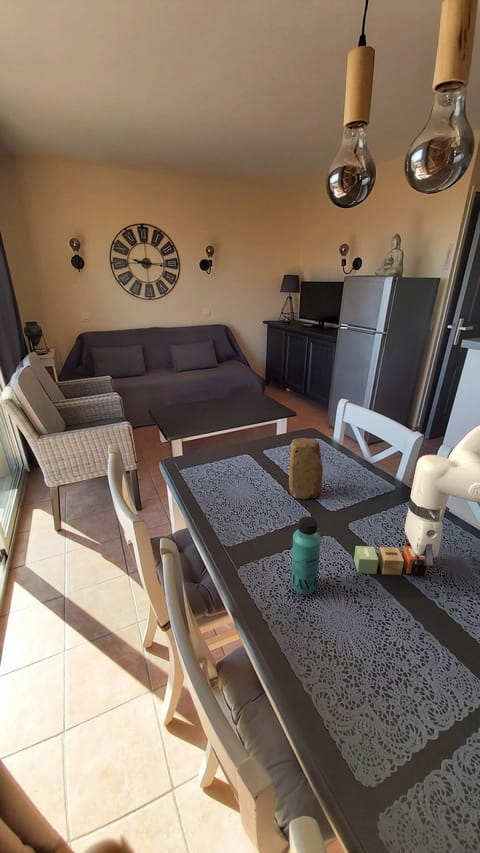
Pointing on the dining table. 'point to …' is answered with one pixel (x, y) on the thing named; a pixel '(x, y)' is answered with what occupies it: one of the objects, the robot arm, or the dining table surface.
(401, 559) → the tan wooden toy cube
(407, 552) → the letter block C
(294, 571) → the beverage bottle
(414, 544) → the robot arm
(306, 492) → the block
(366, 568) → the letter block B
